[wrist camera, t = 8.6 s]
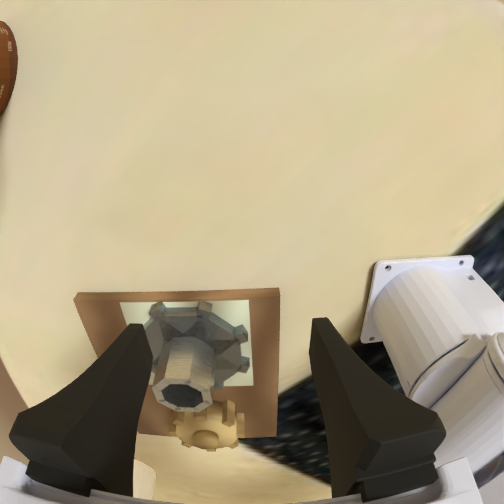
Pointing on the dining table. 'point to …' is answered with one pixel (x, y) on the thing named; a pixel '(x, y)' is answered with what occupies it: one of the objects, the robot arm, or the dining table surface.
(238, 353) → the planet gear
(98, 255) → the dining table surface
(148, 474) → the bottle
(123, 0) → the dining table surface
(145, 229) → the dining table surface
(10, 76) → the food container
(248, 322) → the carrier board
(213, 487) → the dining table surface
